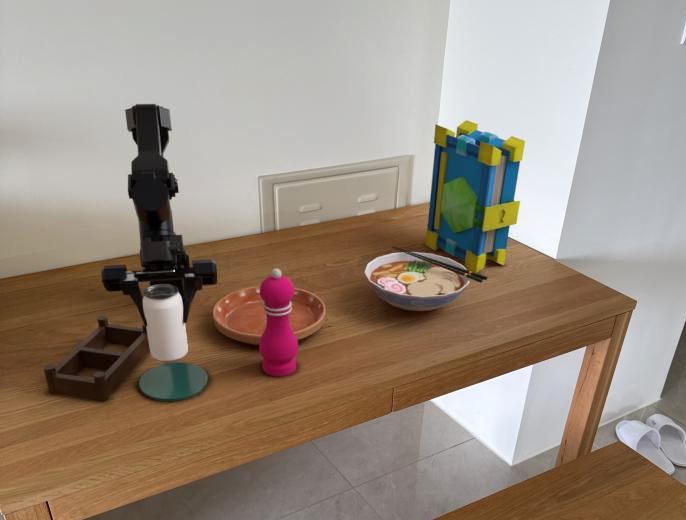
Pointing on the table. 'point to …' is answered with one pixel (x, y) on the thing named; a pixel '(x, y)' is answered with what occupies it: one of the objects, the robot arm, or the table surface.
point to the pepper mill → (278, 326)
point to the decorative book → (473, 194)
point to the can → (165, 322)
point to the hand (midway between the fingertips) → (165, 323)
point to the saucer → (250, 319)
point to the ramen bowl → (418, 279)
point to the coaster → (173, 381)
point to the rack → (99, 362)
